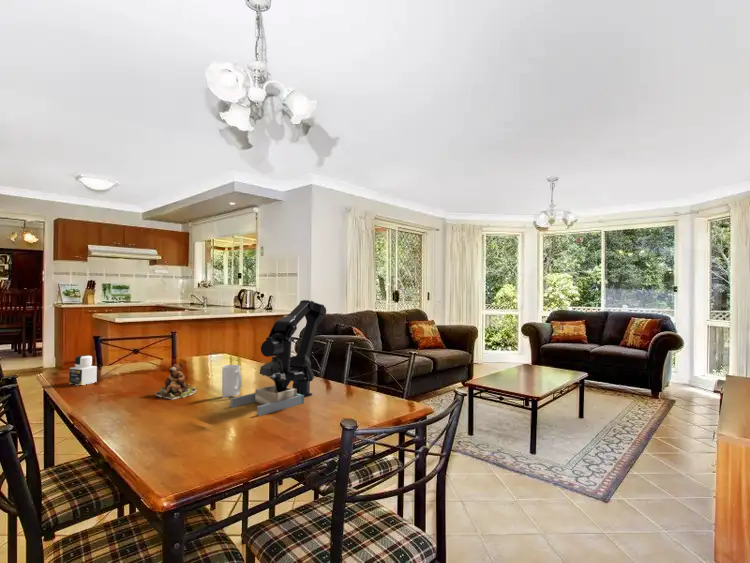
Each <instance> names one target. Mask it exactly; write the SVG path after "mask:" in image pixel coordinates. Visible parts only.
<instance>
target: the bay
mask: <svg viewBox="0 0 750 563" xmlns="http://www.w3.org/2000/svg"><path fill="white" fill-rule="evenodd" d="M251 403H255V392H253V393H248V394H244V395H239V396H234V397H230V404H229V405H230V408H232V409H233V408H236V407H240V406H244V405H248V404H251ZM302 404H305V397H304V395H301V394H297V396H295V397H291V398H287V399H283V400H280V401H276V402H272V403H268V404H264V405H261V404H260V405H257V406H256V415H257V416H258V417H261V416H264V415H268V414H270V413H271V414H272V413H275V412H278V411H282V410H285V409H289V408H292V407H296V406H299V405H302Z"/></svg>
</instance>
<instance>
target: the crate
mask: <svg viewBox="0 0 750 563" xmlns="http://www.w3.org/2000/svg"><path fill="white" fill-rule="evenodd" d="M254 393H255V402H254V404H258V405H260V406H261V405H264V404H268V403H272V402H276V401H280V400H283V399H287V398H291V397H295V396H297V389H294V388H292V387H289V386H287V388H286V390H285V391H283V392H279V393H277V389H276V385H275V384H273V385H269V386H264V387H263V386H262V387H258V388H256V389H255V392H254Z"/></svg>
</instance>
